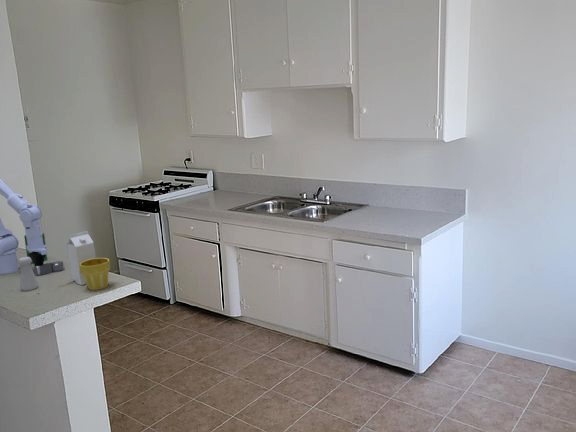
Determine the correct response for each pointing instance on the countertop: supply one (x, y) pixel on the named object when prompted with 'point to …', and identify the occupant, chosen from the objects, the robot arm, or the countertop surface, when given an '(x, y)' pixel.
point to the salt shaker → (27, 275)
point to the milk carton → (79, 254)
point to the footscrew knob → (49, 268)
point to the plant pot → (95, 272)
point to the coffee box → (31, 251)
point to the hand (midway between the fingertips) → (39, 269)
